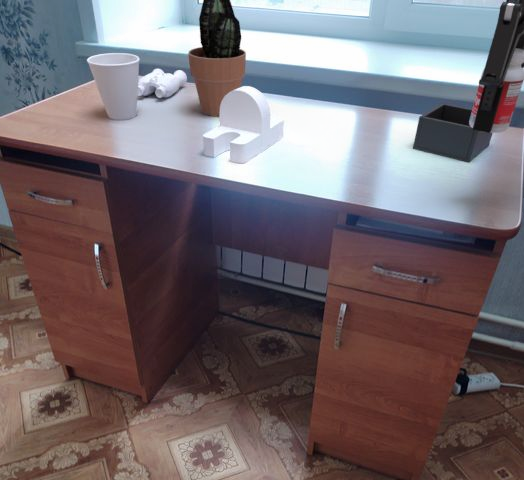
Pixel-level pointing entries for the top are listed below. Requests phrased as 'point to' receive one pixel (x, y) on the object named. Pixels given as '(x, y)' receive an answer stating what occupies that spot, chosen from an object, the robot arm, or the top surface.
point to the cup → (117, 83)
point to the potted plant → (217, 55)
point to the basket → (450, 133)
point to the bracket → (243, 126)
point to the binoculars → (161, 83)
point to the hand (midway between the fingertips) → (488, 124)
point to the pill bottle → (504, 94)
